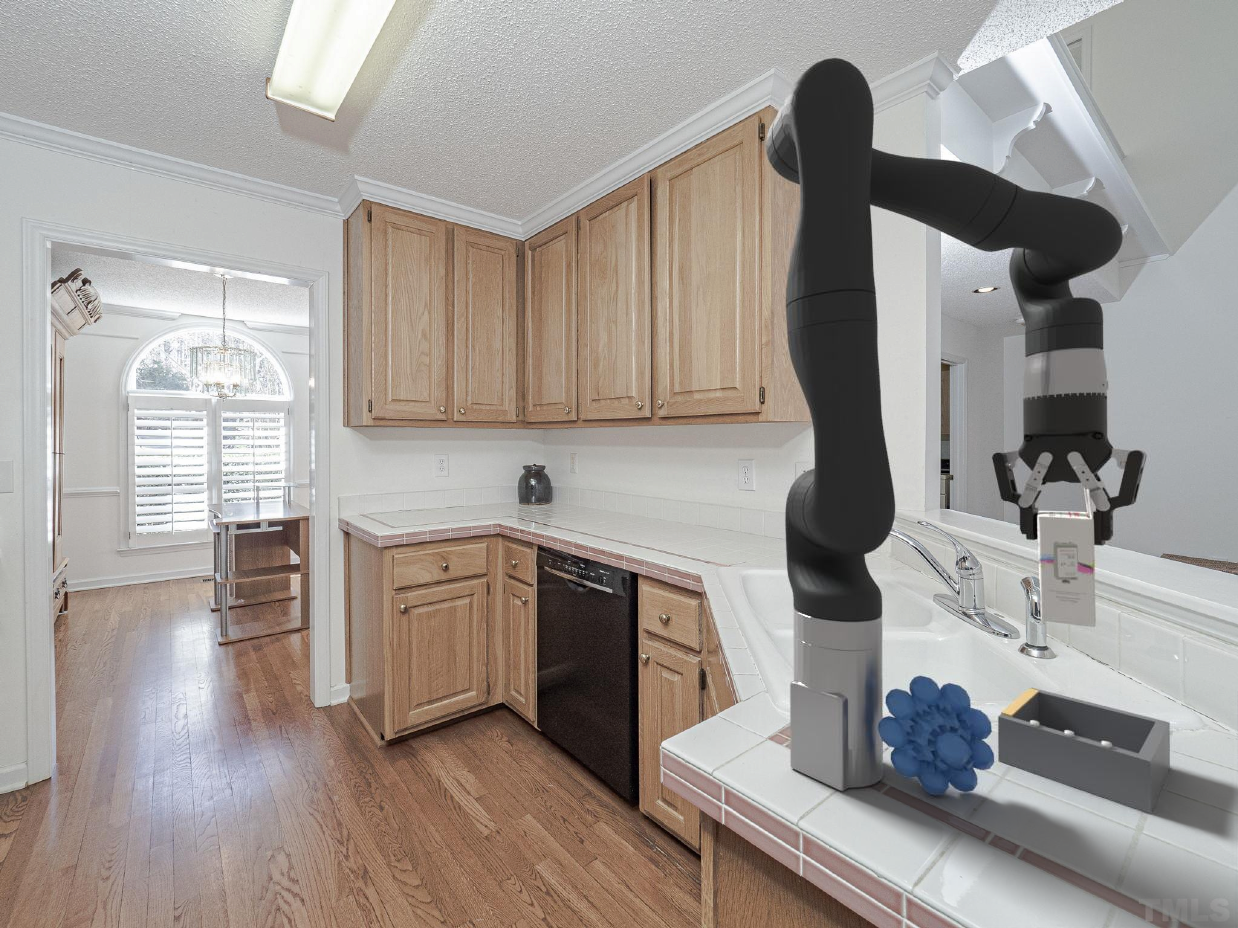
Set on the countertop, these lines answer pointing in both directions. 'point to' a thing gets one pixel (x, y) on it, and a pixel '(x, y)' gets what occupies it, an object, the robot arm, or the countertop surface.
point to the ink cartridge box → (1067, 566)
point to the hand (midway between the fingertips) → (1064, 541)
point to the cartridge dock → (1087, 746)
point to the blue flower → (936, 735)
